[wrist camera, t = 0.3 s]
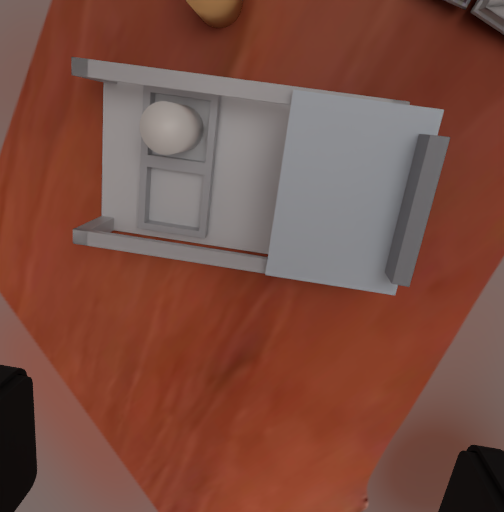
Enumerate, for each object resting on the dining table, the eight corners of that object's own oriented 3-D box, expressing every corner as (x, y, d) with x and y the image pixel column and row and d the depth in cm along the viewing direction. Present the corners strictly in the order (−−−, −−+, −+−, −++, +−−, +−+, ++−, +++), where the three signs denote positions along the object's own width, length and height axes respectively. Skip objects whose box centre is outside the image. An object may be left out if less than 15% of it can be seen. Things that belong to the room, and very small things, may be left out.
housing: (107, 68, 35) (71, 56, 29) (390, 106, 33) (410, 101, 28) (105, 226, 39) (73, 243, 33) (354, 264, 38) (365, 289, 32)
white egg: (161, 101, 34) (140, 97, 30) (205, 107, 34) (191, 104, 29) (159, 147, 36) (138, 151, 31) (201, 153, 35) (187, 158, 31)
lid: (293, 90, 28) (293, 86, 25) (439, 110, 27) (458, 108, 24) (265, 271, 32) (263, 286, 29) (392, 291, 32) (403, 308, 29)
